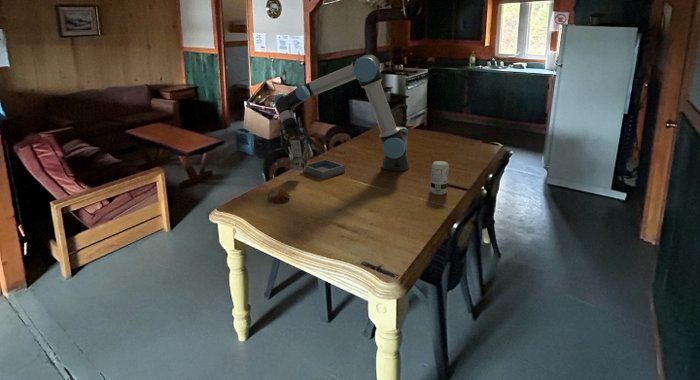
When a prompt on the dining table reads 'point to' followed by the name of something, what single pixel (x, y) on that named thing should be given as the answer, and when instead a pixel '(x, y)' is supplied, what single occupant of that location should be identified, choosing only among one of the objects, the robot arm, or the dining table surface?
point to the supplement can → (439, 177)
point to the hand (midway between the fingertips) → (302, 157)
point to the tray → (324, 169)
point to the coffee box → (299, 153)
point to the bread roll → (278, 196)
